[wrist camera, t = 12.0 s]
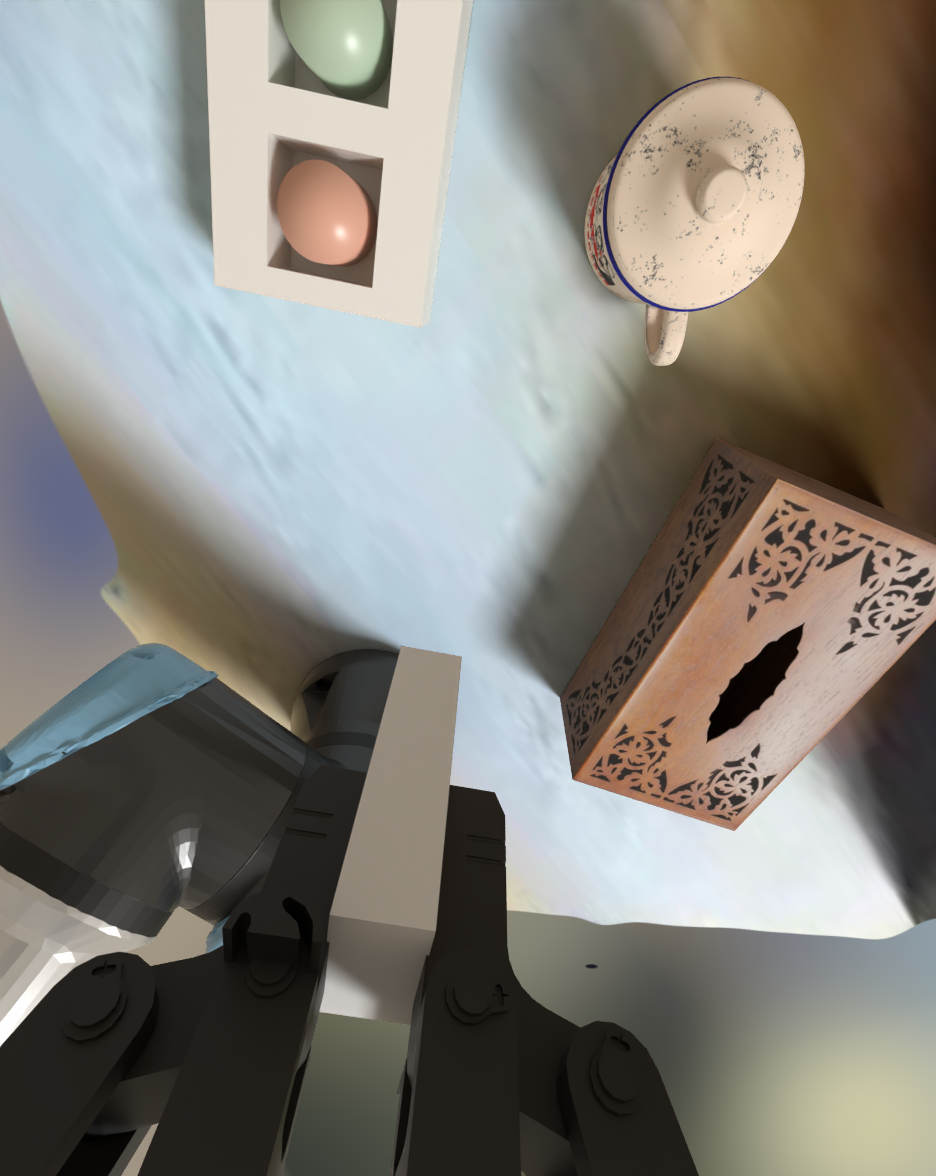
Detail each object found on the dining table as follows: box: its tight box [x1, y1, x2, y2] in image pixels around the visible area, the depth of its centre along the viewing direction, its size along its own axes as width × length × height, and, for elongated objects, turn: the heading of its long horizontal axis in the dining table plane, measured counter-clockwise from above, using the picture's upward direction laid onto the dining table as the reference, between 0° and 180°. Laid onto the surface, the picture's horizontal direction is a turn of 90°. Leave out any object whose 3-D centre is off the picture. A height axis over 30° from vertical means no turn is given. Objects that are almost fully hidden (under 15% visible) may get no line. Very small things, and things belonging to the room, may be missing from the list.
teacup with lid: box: [584, 77, 804, 366], centre depth 29 cm, size 12×9×12 cm
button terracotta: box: [277, 159, 377, 266], centre depth 31 cm, size 5×5×4 cm
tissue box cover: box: [560, 438, 936, 831], centre depth 42 cm, size 26×14×10 cm, turn 159°
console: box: [205, 0, 473, 328], centre depth 28 cm, size 25×12×5 cm, turn 170°
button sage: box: [280, 0, 393, 100], centre depth 27 cm, size 5×5×4 cm
